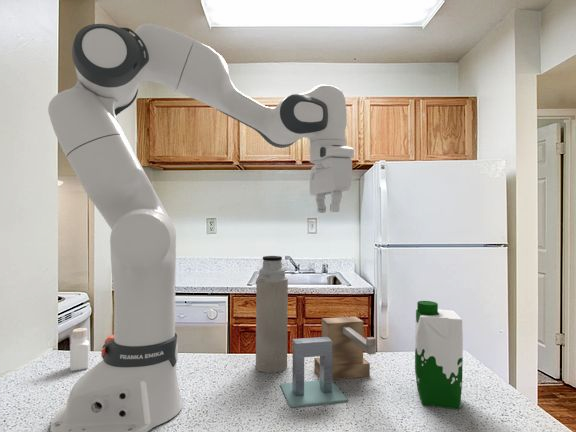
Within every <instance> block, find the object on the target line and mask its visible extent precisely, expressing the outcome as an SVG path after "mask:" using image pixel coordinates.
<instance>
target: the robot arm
mask: <svg viewBox="0 0 576 432" xmlns="http://www.w3.org/2000/svg"><path fill="white" fill-rule="evenodd" d="M71 57H72V58H71V59H72V61H73V65H74V69H75V75H76V79H77V81H76V84H75V85H74V86H72V87H71V88H68V89H65V90H63V91H60V92H58V93H57V94H56V95H55V96H53V97H52V98H51V100H50V102H49V104H48V108H47V110H48V111H47V112H48V115H49V119H50V122H51V125H52V128H53V131H54V134H55V136H56V138H57V141H58V143H59V145H60V147H61V150H62V152H63V154H64V155H65V157H66V159H67V161H68V162H69V165H70V166H71V168H72V170H73V172H74V174H75V176H76V177H77V179H78V181H79V183H80V185H81V186H82V188H83V189H84V192H85V193H86V195H87V197H88V199H90V201H91V202H92V203H93V205H94V207H95V208H96V209H97V211H98V212H99V213H100V214H101V216H102V217H103V219H104V220H105V222H106V223H107V225H108V226H109V228H110V229H111V230H110V231H111V232H110V236H109V238H110V239H109V244H110V248H109V249H110V264H111V279H112V286H113V287H112V288H113V295H114V296H113V297H114V312H113V314H114V315H113V316H114V319H113V320H114V323H113V325H114V328H113V329H114V330H113V334H110V335H108V337H107V338H106V339H105V340H104V344H103V345H102V349H100V351H101V353H100V355H101V357H102V360H101V361H100V362H98V363H97V364H96V365H95V366H93V367H92V368H91V369H90V370H88V372H86V373H85V374H83V375H82V376H81V377H80V378H78V380H77V381H76V382H75V384H74V385H73V386H72V388H71V390H70V392H69V395H68V399H67V401H66V404H64V405H63V406H62V407H61V408H60V409H59V410H58V412H57V413H56V414H55V415H54V417H53V418H52V421H51V423H50V430H49V432H149V431H151V430H153V428H155V427H157V426H159V425H161V424H164V423H167V422H168V421H169V420H171V419H173V418H174V417H176V416H177V415H178V414H179V413H180V411H181V410H182V408H183V405H184V403H183V399H182V396H181V392H180V387H179V381H178V374H177V365H176V364H177V361H178V354H179V352H178V350H179V349H178V348H179V346H178V345H179V344H178V343H179V341H178V335H177V333H176V256H177V255H176V254H177V252H176V247H177V245H176V244H177V241H176V240H177V235H176V229H175V226H174V224H173V221H172V220H171V218H170V217H169V214H168V212H167V211H166V209H165V206H164V205H163V203H162V201H161V199H160V198H159V196H158V194H157V192H156V190H155V189H154V187H153V184H152V182H151V181H150V179H149V177H148V175H147V173H146V172H145V169H144V168H143V166H142V164H141V163H140V161H139V159H138V157H137V155H136V152H135V150H134V149H133V147H132V146H131V143H130V142H129V140H128V137H127V136H126V134H125V132H124V131H123V129H122V127H121V125H120V123H119V121H118V119H117V115H119V114H121V113H122V112H123V111H125V110H127V108H129V107H130V106H131V105H132V104H133V103H134V101H135V100H136V98H137V96H138V93H139V85H140V83H142V84H143V83H150V82H151V83H156V84H160V85H161V84H162V85H164V86H165V87H167V88H170V89H171V90H173V91H175V92H176V91H177V92H178V93H180V94H182V95H184V96H187V97H190V98H192V99H194V100H195V101H198V102H201V103H203V104H205V105H207V106H209V107H210V108H213V109H216V110H217V111H219V112H220V113H222V114H224V115H226V116H228V117H230V118H231V119H233V120H235V121H238V122H239V123H241V124H243V125H245V126H247V127H248V128H251V130H254V131H255V132H257V133H258V134H259V135H260V136H261V137H262V139H264V140H265V142H267V143H268V144H269V145H271V146H272V147H275V148H277V149H278V148H279V149H283V148H284V149H285V148H289V147H291V146H293V144H295V143H296V142H297V141H299V140H301V139H302V138H307V139H308V140H309V163H311V164H313V166H312V167H311V169H310V174H309V175H310V176H309V194H310V196H312V197H313V196H314V197H315V201H316V206H317V210H316V211H317V213H318V214H323V213H324V214H325V213H326V212H327V206H326V202H325V200H326V196H327V195H330V197H331V203H329V212H331V213H339V212H340V205H341V202H342V197H343V192H346V191H349V190H350V189H351V185H352V177H353V161H352V159H353V158H354V155H355V151H354V148H353V147H351V146H347V145H348V144H347V143H348V142H347V137H346V129H347V126H348V124H347V121H348V119H347V115H348V114H347V103H346V98H345V94H344V93H343V91H342V90H341V89H340V88H339V87H336V86H334V85H331V84H319V85H317V86H316V85H315V86H314V88H312V89H311V90H309V91H307V92H302V93H294V94H290V95H288V96H286V97H285V98H283V100H281V101H280V102H279V103H278V104H277V105H276V106H270V107H269V106H265V105H264V104H261V103H260V102H258V101H257V100H255V99H253V98H251V97H249V96H248V95H245V94H244V93H242V92H241V91H239V90H238V88H236V87H235V85H234V83H233V82H232V79H231V77H230V72H229V67H228V64H227V62H226V61H225V59H224V58H223V56H222V55H220V54H219V53H218V51H217V52H216V51H215V50H214V49H213V48H211V46H208V45H206V44H205V43H202V42H201V41H199V40H197V39H195V38H193V37H191V36H188V35H187V34H184V33H181V32H179V31H177V30H175V29H171V28H169V27H165V26H162V25H160V24H159V25H158V24H155V23H153V22H152V23H151V22H147V23H143V24H141V25H139V26H138V27H137V28H136V29H135V30H132V29H131V28H128V27H118V26H116V25H112V24H108V23H93V24H88V25H85V26H84V27H82V28H81V29H80V30H79V31H78V32H77V34H76V35H75V37H74V39H73V42H72V46H71Z"/></svg>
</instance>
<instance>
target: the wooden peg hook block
mask: <svg viewBox="0 0 576 432" xmlns="http://www.w3.org/2000/svg"><path fill="white" fill-rule="evenodd" d="M321 337H329V338H330V339H331V340H332V379H333V380H341V379H342V380H343V379H353V377H354V378H363V377H370V376H371V375H370V374H371V369H370V368H371V367H370V366H371V364H370V362H369V361H367V359H365V358H364V352H365V353H366V354H367V355H376V352H377V350H376V348H377V346H376V345H377V344H376V343H377V339H376V338H375V337H373V336H370V337H365V336H364V321H363V320H362V319H360V318H359V317H357V316H343V317H341V316H339V317H326V318H325V317H324V318H323V317H322V318H321ZM313 359H314V361H313V362H314V365H313V366H314V368H313V370H314V372H315V373H316V374H317V376H318V377H319V378H320V357H313Z"/></svg>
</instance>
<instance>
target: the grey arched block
mask: <svg viewBox="0 0 576 432" xmlns="http://www.w3.org/2000/svg"><path fill="white" fill-rule="evenodd" d="M316 357H319V358H320V377H319V380H320V388H321V390H322V391H323V393H324V394H325V393H332V381H333V380H332V340H331V339H330V338H329V337H322V336H320V337H319V336H318V337H305V338H303V337H302V338H292V371H291V372H292V375H291V376H292V378H291V379H292V382H291V383H292V390H293V392H294V394H295V396H304V381H305V358H316Z"/></svg>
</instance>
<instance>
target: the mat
mask: <svg viewBox="0 0 576 432" xmlns="http://www.w3.org/2000/svg"><path fill="white" fill-rule="evenodd" d="M279 386H280V389H281V390H282V392H283V394H284V397H285V399H286V401H287V404H288V406H289V408H292V409H293V408H302V407H311V406H319V405H320V406H321V405H327V404H336V403H346V402H348V399H347V397H346V396H345V394H343V392H342V391H341V390H340V389H339V387H338V386H337V384H336V383H335V382H334V381H333V380H332V393H325V394H324V393H323V391H322V390H321V388H320V379H317V380H314V379H313V380H306V381H305V380H304V396H295V394H294V392H293V390H292V382H288V383H287V382H286V383H285V382H284V383H280V384H279Z"/></svg>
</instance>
